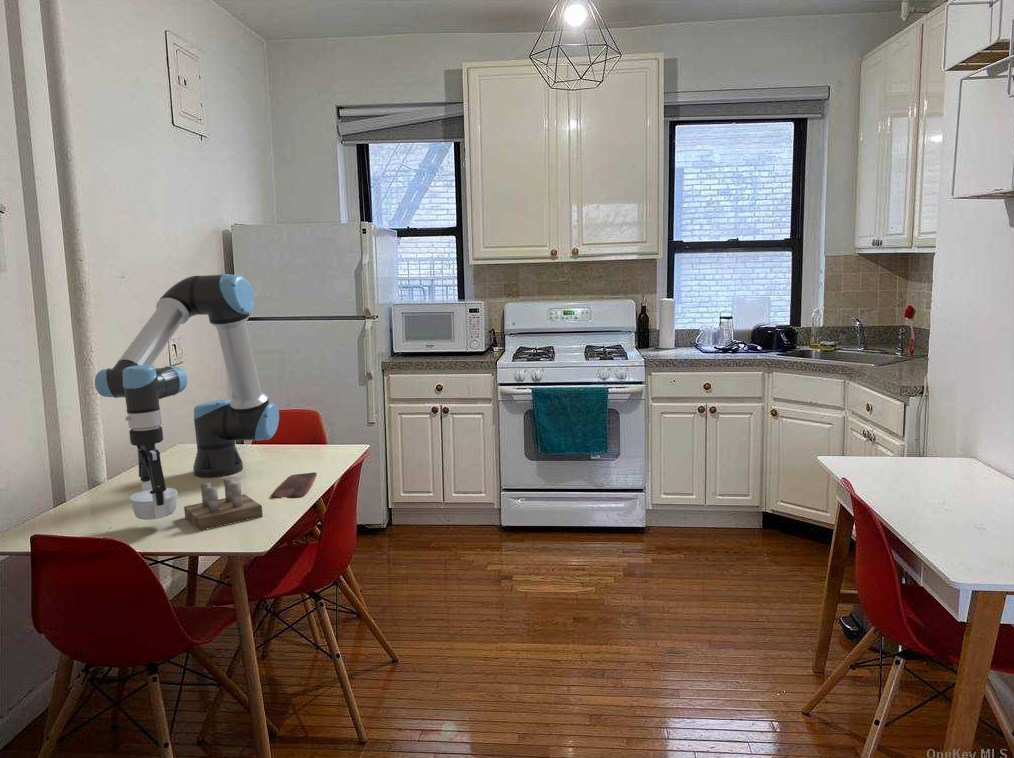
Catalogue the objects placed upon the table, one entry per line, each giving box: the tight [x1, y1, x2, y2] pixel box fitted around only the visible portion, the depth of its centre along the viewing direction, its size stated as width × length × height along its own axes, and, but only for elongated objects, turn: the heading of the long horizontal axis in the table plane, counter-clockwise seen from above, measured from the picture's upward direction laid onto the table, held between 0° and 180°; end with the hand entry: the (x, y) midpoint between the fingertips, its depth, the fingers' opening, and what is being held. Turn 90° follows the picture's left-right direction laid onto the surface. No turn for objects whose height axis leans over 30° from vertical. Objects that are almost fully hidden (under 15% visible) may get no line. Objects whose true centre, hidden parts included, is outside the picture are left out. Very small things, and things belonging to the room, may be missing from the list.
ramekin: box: [129, 487, 178, 521], centre depth 196 cm, size 11×11×5 cm
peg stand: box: [183, 477, 263, 531], centre depth 203 cm, size 14×16×9 cm
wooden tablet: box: [270, 471, 317, 499], centre depth 231 cm, size 26×2×10 cm
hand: (155, 511), depth 196 cm, fingers closed on ramekin, 11 cm apart
